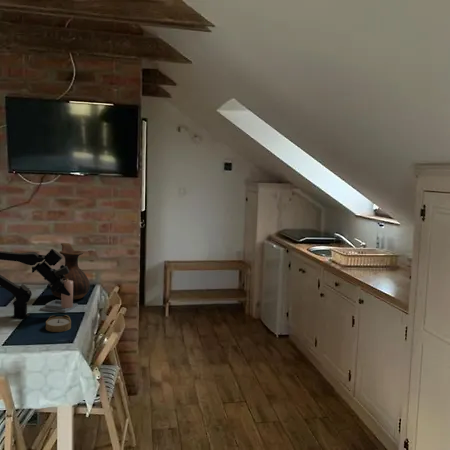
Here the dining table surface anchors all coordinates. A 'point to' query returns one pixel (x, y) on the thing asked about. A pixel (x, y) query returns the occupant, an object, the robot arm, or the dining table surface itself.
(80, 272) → the jug
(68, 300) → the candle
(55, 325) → the alarm clock
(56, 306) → the dish
